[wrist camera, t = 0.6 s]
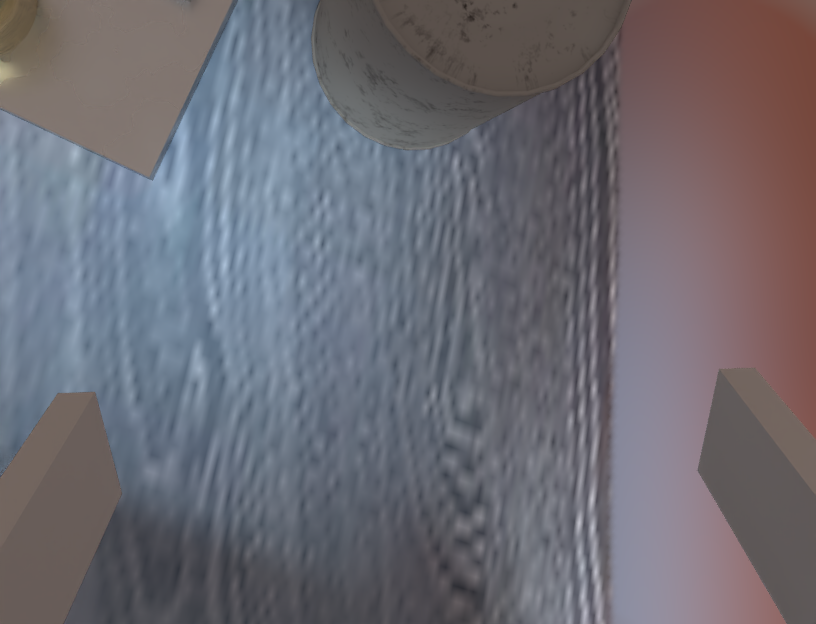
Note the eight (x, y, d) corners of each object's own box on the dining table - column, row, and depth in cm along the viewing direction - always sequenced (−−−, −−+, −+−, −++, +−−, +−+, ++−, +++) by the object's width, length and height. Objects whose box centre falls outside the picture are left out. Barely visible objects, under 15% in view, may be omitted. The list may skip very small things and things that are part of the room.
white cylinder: (531, 109, 37) (676, 39, 25) (359, 180, 35) (427, 141, 23) (461, -80, 35) (580, -251, 23) (277, -16, 34) (305, -166, 22)
